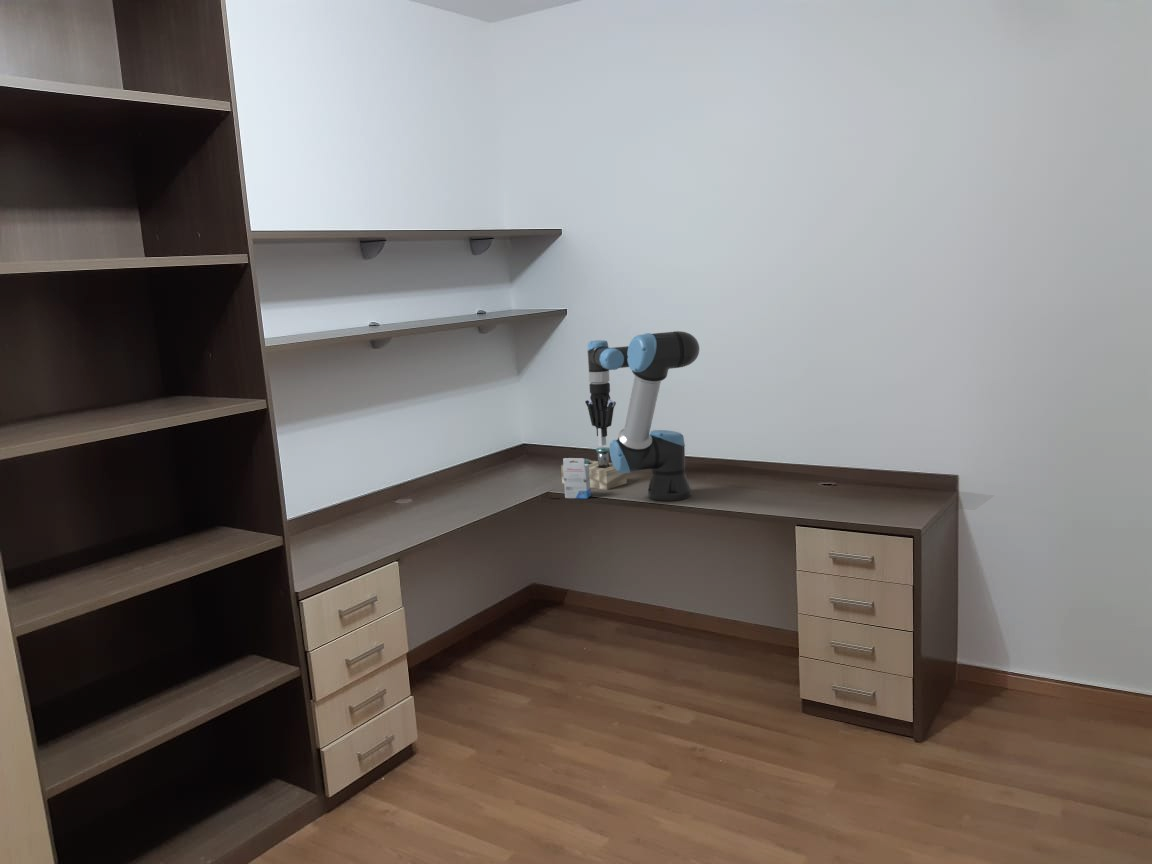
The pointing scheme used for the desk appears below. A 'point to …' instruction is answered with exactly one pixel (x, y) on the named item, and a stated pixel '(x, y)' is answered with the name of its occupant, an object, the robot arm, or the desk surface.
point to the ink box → (576, 478)
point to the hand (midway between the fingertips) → (602, 445)
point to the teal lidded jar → (585, 461)
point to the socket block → (603, 476)
